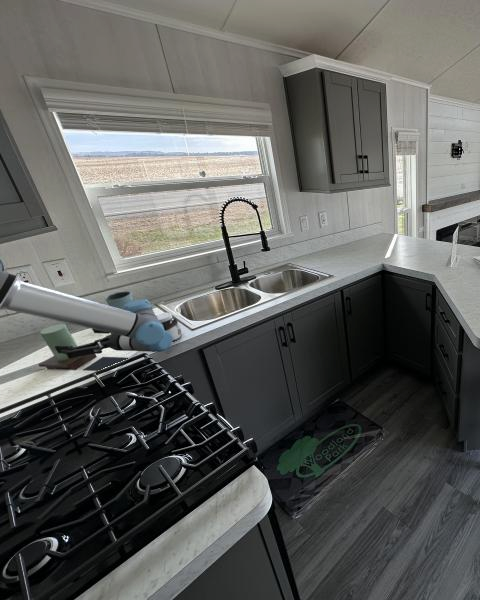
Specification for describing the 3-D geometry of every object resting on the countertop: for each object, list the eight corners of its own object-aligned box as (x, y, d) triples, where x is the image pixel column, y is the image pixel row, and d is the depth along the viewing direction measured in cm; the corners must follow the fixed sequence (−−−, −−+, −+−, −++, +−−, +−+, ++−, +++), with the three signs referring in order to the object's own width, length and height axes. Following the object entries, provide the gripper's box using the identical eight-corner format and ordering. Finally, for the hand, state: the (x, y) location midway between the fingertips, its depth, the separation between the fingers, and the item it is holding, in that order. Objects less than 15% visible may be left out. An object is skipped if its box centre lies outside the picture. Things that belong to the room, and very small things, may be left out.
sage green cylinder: (67, 361, 123) (51, 333, 117) (51, 360, 123) (34, 333, 118) (85, 350, 129) (71, 324, 124) (69, 350, 130) (54, 323, 125)
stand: (71, 374, 122) (66, 365, 120) (43, 373, 123) (38, 364, 121) (101, 355, 133) (96, 347, 131) (75, 354, 134) (70, 346, 132)
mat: (102, 379, 118) (102, 378, 118) (70, 378, 119) (70, 377, 119) (132, 358, 130) (132, 357, 129) (103, 357, 131) (102, 356, 131)
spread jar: (175, 345, 138) (165, 320, 133) (146, 348, 136) (135, 324, 131) (187, 330, 148) (179, 307, 143) (160, 333, 147) (151, 310, 142)
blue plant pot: (129, 311, 169) (119, 290, 164) (145, 312, 167) (136, 291, 162) (109, 321, 160) (99, 299, 155) (126, 322, 158) (116, 300, 153)
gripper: (100, 370, 110) (45, 367, 112) (157, 331, 132) (110, 330, 134) (90, 351, 106) (34, 349, 109) (150, 315, 129) (102, 314, 131)
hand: (76, 339), depth 122 cm, fingers open, 13 cm apart
